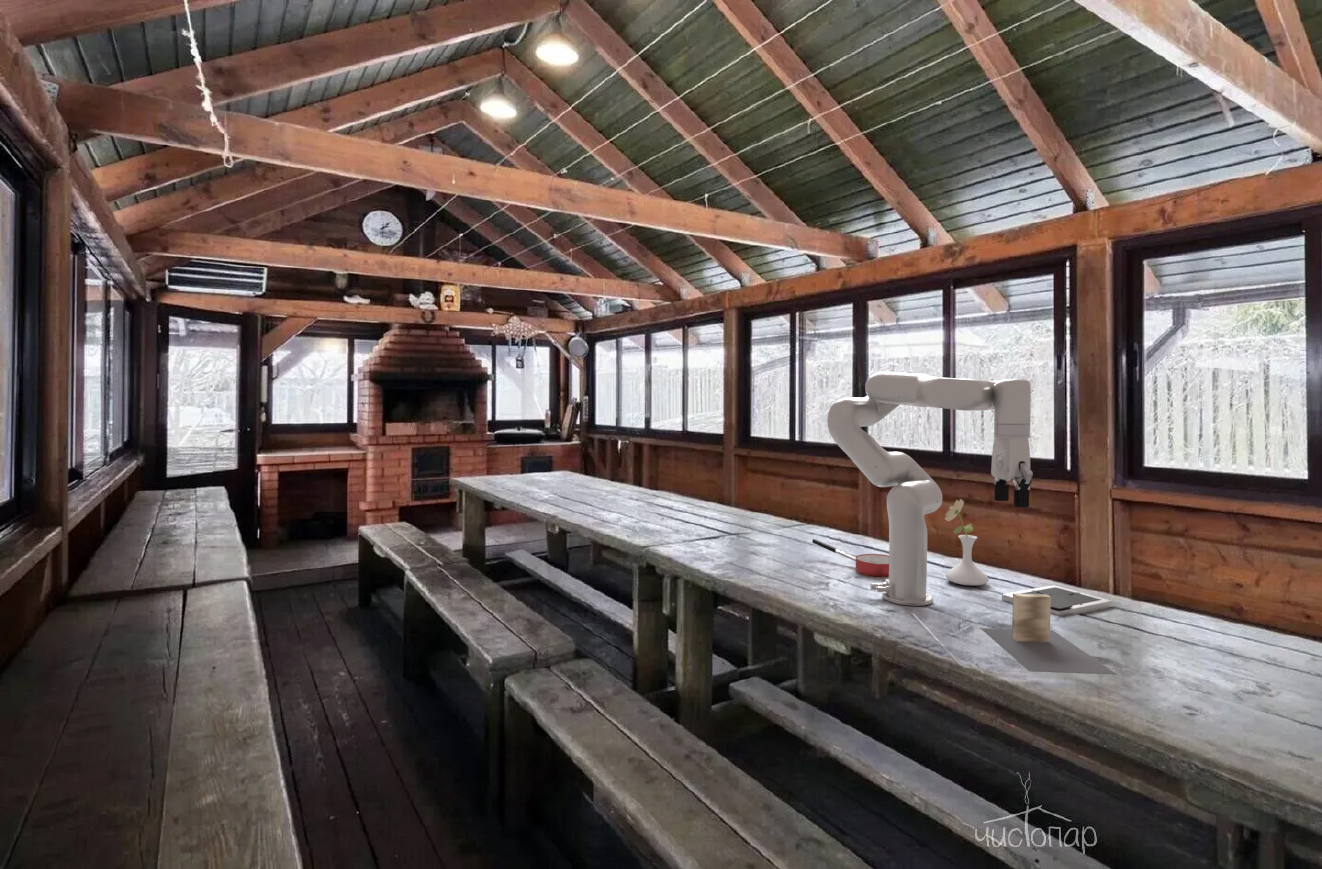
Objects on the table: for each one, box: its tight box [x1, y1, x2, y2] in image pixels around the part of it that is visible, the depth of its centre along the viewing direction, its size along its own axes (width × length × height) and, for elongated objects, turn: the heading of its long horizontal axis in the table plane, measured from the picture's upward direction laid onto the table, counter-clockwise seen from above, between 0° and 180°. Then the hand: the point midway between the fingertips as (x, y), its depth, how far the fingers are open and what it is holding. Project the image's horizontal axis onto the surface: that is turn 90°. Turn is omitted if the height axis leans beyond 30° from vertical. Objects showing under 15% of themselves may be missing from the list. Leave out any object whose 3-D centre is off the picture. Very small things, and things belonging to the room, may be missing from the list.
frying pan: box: [811, 538, 889, 579], centre depth 208 cm, size 32×13×6 cm, turn 42°
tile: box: [1011, 594, 1051, 642], centre depth 142 cm, size 7×2×10 cm, turn 85°
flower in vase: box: [944, 498, 989, 587], centre depth 188 cm, size 13×11×25 cm
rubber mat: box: [980, 627, 1117, 675], centre depth 137 cm, size 16×24×1 cm, turn 175°
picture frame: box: [1001, 584, 1113, 616], centre depth 170 cm, size 16×3×21 cm
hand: (1011, 503), depth 153 cm, fingers open, 9 cm apart
